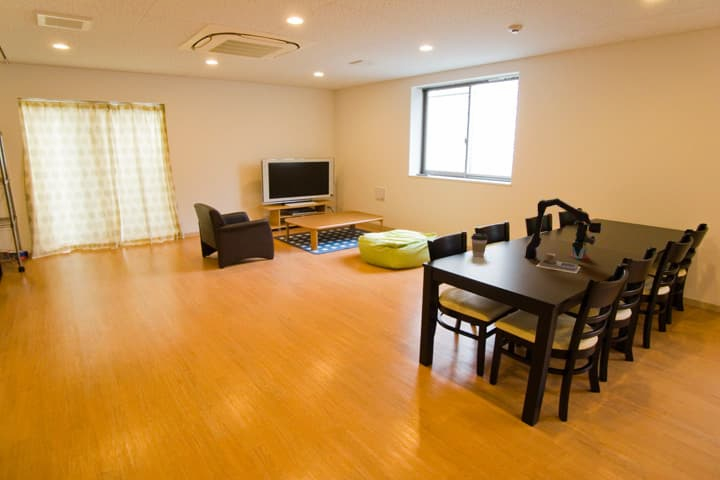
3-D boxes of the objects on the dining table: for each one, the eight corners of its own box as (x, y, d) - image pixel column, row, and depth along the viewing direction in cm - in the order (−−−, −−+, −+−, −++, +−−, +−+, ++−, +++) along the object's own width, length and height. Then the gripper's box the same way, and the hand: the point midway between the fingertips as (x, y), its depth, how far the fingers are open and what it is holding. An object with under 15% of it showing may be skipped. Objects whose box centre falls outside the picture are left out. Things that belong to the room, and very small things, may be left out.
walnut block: (544, 265, 259) (545, 254, 257) (546, 263, 263) (547, 252, 261) (552, 266, 256) (554, 255, 254) (554, 264, 260) (556, 254, 258)
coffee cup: (487, 258, 275) (489, 237, 271) (470, 257, 277) (471, 236, 273) (485, 254, 285) (487, 233, 282) (469, 253, 288) (470, 232, 284)
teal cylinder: (573, 257, 263) (574, 247, 261) (574, 256, 267) (575, 245, 265) (581, 259, 260) (583, 248, 258) (583, 257, 264) (584, 246, 262)
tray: (536, 266, 258) (536, 262, 257) (541, 261, 269) (542, 257, 268) (576, 273, 244) (576, 269, 244) (580, 267, 255) (581, 264, 255)
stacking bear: (576, 259, 274) (580, 233, 269) (566, 255, 283) (569, 230, 279) (590, 258, 276) (594, 233, 271) (580, 254, 285) (583, 229, 281)
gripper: (593, 236, 247) (590, 260, 251) (598, 230, 262) (594, 254, 265) (573, 233, 254) (570, 257, 257) (578, 228, 268) (575, 251, 272)
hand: (578, 255), depth 263 cm, fingers closed on teal cylinder, 5 cm apart
